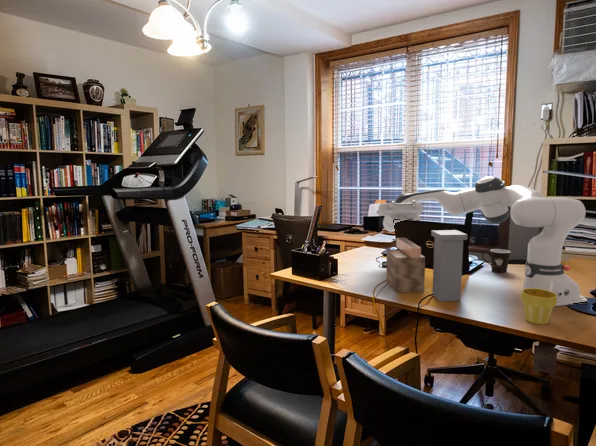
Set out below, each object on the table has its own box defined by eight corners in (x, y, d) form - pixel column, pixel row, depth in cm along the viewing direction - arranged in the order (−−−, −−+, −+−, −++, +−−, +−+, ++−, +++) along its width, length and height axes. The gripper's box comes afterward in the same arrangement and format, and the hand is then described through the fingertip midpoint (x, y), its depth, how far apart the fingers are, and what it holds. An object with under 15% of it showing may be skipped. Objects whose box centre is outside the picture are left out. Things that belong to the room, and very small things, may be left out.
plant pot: (560, 327, 134) (562, 298, 132) (525, 325, 136) (527, 296, 134) (547, 316, 144) (550, 288, 142) (515, 314, 146) (517, 287, 144)
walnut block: (412, 281, 186) (413, 249, 184) (424, 291, 171) (425, 257, 169) (386, 281, 186) (386, 249, 184) (395, 292, 171) (396, 257, 169)
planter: (404, 246, 190) (405, 237, 190) (420, 257, 169) (420, 247, 168) (396, 246, 190) (396, 237, 190) (410, 257, 169) (411, 247, 168)
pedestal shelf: (453, 293, 169) (456, 230, 165) (464, 301, 159) (467, 234, 155) (429, 293, 168) (431, 230, 165) (438, 302, 159) (440, 235, 155)
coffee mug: (512, 271, 199) (514, 251, 198) (502, 274, 194) (504, 253, 193) (489, 266, 209) (490, 247, 207) (479, 269, 204) (480, 249, 202)
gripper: (375, 208, 204) (381, 196, 191) (416, 207, 204) (425, 195, 192) (376, 220, 201) (382, 209, 189) (418, 219, 202) (427, 208, 189)
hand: (404, 202), depth 190 cm, fingers open, 8 cm apart
